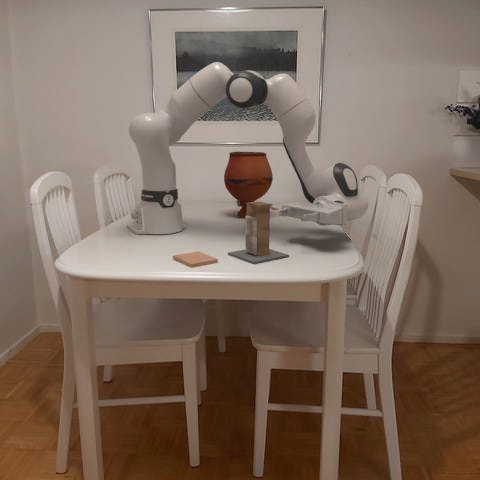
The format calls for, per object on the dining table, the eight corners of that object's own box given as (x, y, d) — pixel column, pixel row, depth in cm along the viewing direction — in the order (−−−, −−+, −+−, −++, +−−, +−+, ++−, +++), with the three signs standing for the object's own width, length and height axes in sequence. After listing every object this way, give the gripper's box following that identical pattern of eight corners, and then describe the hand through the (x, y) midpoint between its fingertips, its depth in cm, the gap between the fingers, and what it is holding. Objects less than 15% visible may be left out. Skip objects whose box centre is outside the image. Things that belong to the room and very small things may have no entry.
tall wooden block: (244, 253, 137) (244, 203, 133) (257, 250, 139) (258, 201, 136) (255, 256, 133) (256, 205, 130) (269, 254, 135) (269, 203, 132)
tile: (198, 256, 138) (172, 261, 133) (198, 251, 137) (172, 255, 133) (218, 264, 130) (191, 269, 125) (217, 259, 129) (191, 264, 125)
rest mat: (227, 254, 137) (227, 252, 137) (261, 248, 144) (261, 246, 144) (254, 264, 128) (254, 262, 128) (288, 257, 135) (288, 254, 135)
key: (282, 211, 209) (276, 205, 224) (282, 209, 209) (276, 203, 224) (269, 210, 209) (263, 204, 223) (269, 208, 209) (264, 202, 223)
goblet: (256, 222, 182) (257, 154, 176) (214, 217, 192) (213, 152, 186) (280, 214, 198) (281, 151, 192) (239, 210, 208) (239, 150, 202)
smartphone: (252, 200, 233) (254, 205, 219) (252, 202, 233) (254, 207, 219) (236, 200, 233) (237, 205, 218) (236, 202, 233) (237, 207, 218)
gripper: (302, 196, 156) (268, 200, 148) (351, 204, 140) (316, 209, 132) (301, 215, 157) (267, 221, 149) (350, 226, 141) (315, 232, 133)
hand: (291, 215), depth 140 cm, fingers open, 8 cm apart
